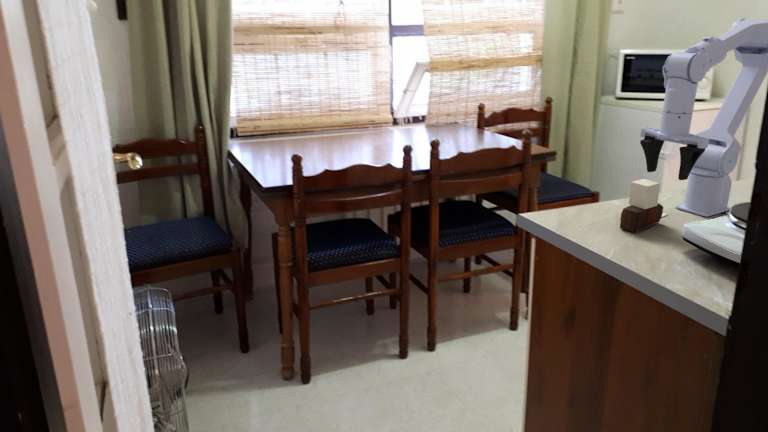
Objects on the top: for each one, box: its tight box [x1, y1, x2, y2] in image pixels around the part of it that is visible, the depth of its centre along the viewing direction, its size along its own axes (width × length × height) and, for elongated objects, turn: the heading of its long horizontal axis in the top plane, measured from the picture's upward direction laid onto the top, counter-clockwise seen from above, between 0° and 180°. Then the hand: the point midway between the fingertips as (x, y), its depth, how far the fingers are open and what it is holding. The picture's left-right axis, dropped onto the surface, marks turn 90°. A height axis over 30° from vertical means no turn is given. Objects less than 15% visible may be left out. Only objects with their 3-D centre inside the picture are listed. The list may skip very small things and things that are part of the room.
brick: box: [619, 203, 664, 233], centre depth 127 cm, size 11×4×5 cm, turn 129°
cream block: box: [628, 178, 661, 209], centre depth 125 cm, size 4×4×5 cm
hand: (666, 175), depth 127 cm, fingers open, 7 cm apart
